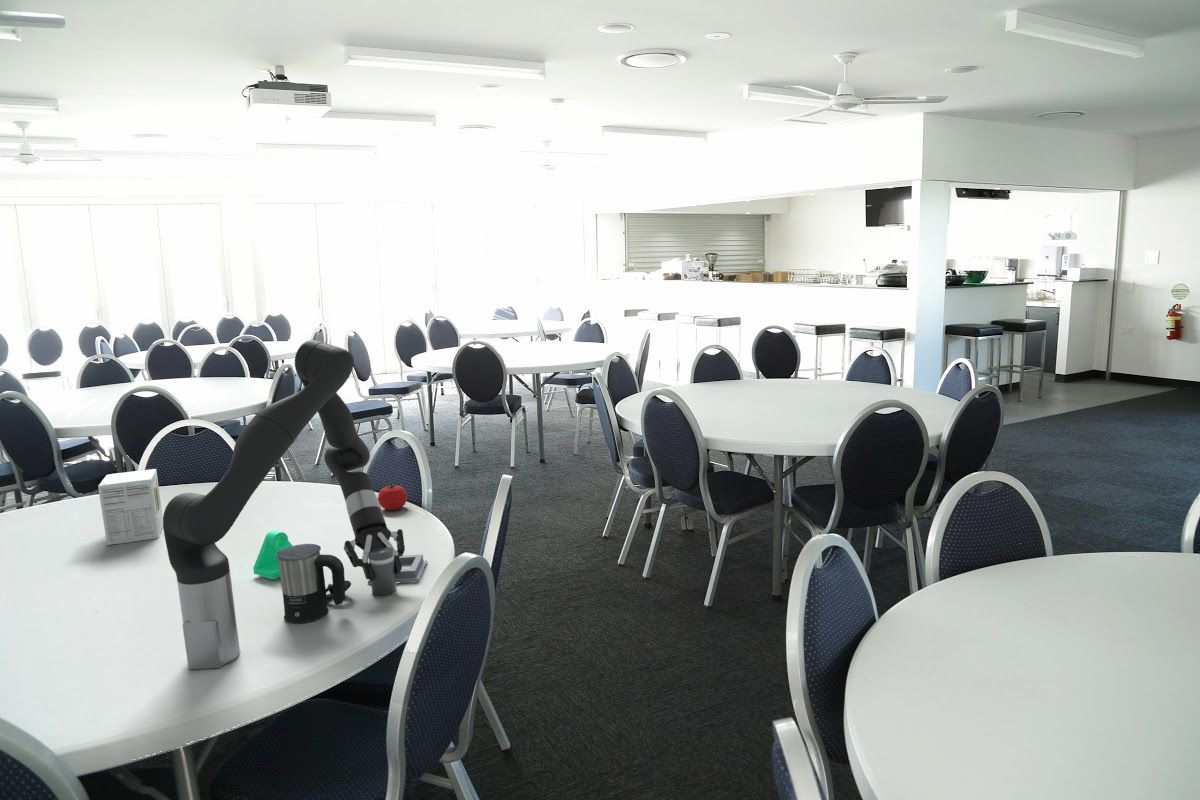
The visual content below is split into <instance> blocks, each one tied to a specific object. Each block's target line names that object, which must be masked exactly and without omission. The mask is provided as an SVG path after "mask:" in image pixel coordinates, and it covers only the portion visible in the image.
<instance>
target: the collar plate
mask: <svg viewBox="0 0 1200 800" xmlns="http://www.w3.org/2000/svg"><path fill="white" fill-rule="evenodd" d="M399 559H400V562H401V565H402V569H401V571H400V574H398V575H396V574H395V581H396V584H397V582H398V583H399V582H402V583H417V581H420V580H419V579H421V577H422V575H423V573H424V571H423V570H425V568H426V566H427V564H426V563H428V560H427V559H424V554H409V555H408V554H407V555H404V554H403V556H400V557H399ZM425 565H426V566H425ZM424 567H425V568H424ZM422 572H423V573H422ZM421 574H422V575H421ZM413 581H414V582H413ZM415 581H416V582H415ZM399 584H400V583H399ZM367 585H371V581H369V579H368V580H367Z"/></svg>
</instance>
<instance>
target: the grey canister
mask: <svg viewBox="0 0 1200 800" xmlns="http://www.w3.org/2000/svg"><path fill="white" fill-rule="evenodd" d="M368 563H370V565H371V568H372V572H373V575H374V579H373V581H371V584H370V585H371V593H372V596H374V597H377V598H380V597H381V598H383V597H385V598H386V597H388V596H392V595H394V594H396V592H397V583H396V581H395V569H394V554H393V549H392V548H391V547H380V548H375V549H372V550H370V551H369V558H368Z"/></svg>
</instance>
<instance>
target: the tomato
mask: <svg viewBox="0 0 1200 800" xmlns="http://www.w3.org/2000/svg"><path fill="white" fill-rule="evenodd" d="M377 495H378V496H377V499H378V501H379V504H380V506H381V509H384V510H386V511H397V510H400V509H401V508H403V507H404V506H405V505H406V503H407V501H408V494H407V491H406V489H405V488H403V486H401V485H397V484H396V483H394V484H393V483H390V485H389V484H387V485H386V486H384V487H383V488H381V489H380V491H379V493H378V494H377Z"/></svg>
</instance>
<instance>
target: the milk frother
mask: <svg viewBox="0 0 1200 800" xmlns="http://www.w3.org/2000/svg"><path fill="white" fill-rule="evenodd" d="M321 549H322V547H321V546H320V545H318V544H316V543H315V544H314V543H302V544H295V545H293V546H290V547H287V548H285V549H282V550H281V551H279V552H277V553H276V558H278V563H279V571H280V577H279V578H280V587H281V591H282V598H283V608H284V616H283V620H284V621H285V622H287V623H290V624H304V623H310V622H315V621H317V620H319V619H321V618H323V617H324V616H326V615H327V614H328V612H329V608H328V604H330V603H331V602H333V603H334V605H336V606H340V605H341V604H343V603H344V601H345V600H346V591H348V589H350V587H351V586H352V582H351V581H350V580H346V578H345V577H346V576H345V567H344V563H343V562H342V561H341V560H340V558H338V557H337V556H335V555H333V554H321ZM324 567H325V568H326V567H327V568H328V569H329V570H330V572H331V578H332V583H328V585H327V586H326V579H325V571H324ZM328 592H329V594H327V593H328Z"/></svg>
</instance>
